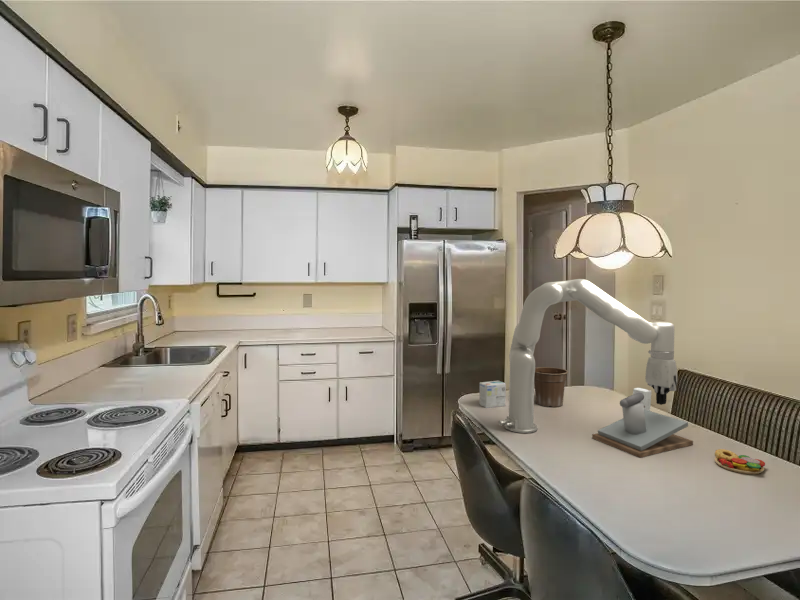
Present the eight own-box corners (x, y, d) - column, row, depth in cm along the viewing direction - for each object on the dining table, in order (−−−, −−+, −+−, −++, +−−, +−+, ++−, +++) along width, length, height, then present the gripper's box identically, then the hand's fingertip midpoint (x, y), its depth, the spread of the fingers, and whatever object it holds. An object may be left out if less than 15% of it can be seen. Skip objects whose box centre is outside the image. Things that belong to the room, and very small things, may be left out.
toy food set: (714, 455, 156) (714, 446, 156) (763, 465, 149) (764, 455, 149) (714, 469, 146) (714, 459, 145) (767, 480, 138) (767, 469, 138)
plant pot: (524, 403, 218) (524, 369, 217) (543, 397, 229) (543, 365, 228) (555, 411, 206) (555, 375, 205) (573, 404, 217) (574, 370, 216)
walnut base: (639, 457, 154) (640, 453, 154) (592, 438, 172) (592, 434, 172) (692, 444, 166) (693, 440, 166) (642, 427, 184) (643, 424, 184)
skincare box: (631, 415, 199) (631, 388, 199) (637, 414, 202) (638, 387, 201) (644, 419, 194) (645, 391, 193) (650, 418, 196) (651, 390, 196)
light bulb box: (498, 402, 220) (498, 380, 219) (506, 406, 213) (506, 383, 213) (478, 404, 216) (478, 381, 215) (486, 408, 210) (486, 385, 209)
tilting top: (641, 451, 155) (636, 410, 153) (598, 434, 172) (593, 397, 170) (688, 426, 165) (684, 388, 163) (643, 412, 182) (639, 377, 180)
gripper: (637, 353, 176) (636, 400, 177) (674, 359, 163) (673, 410, 164) (650, 351, 179) (649, 397, 180) (688, 357, 166) (687, 407, 167)
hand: (661, 403), depth 172 cm, fingers closed
